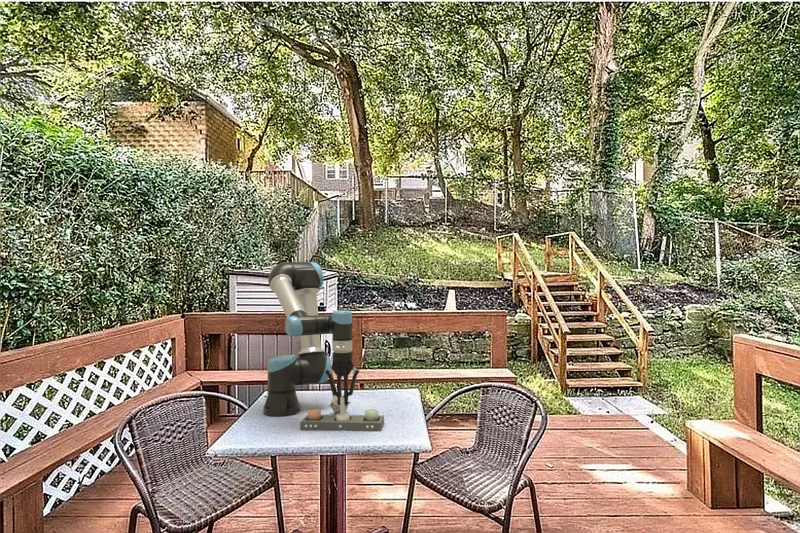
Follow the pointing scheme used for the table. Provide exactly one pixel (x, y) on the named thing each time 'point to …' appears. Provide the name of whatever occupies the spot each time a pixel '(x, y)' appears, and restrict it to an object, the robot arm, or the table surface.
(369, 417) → the button two
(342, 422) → the console
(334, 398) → the game die
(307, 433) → the table surface
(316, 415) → the button three
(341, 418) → the button one
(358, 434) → the table surface
